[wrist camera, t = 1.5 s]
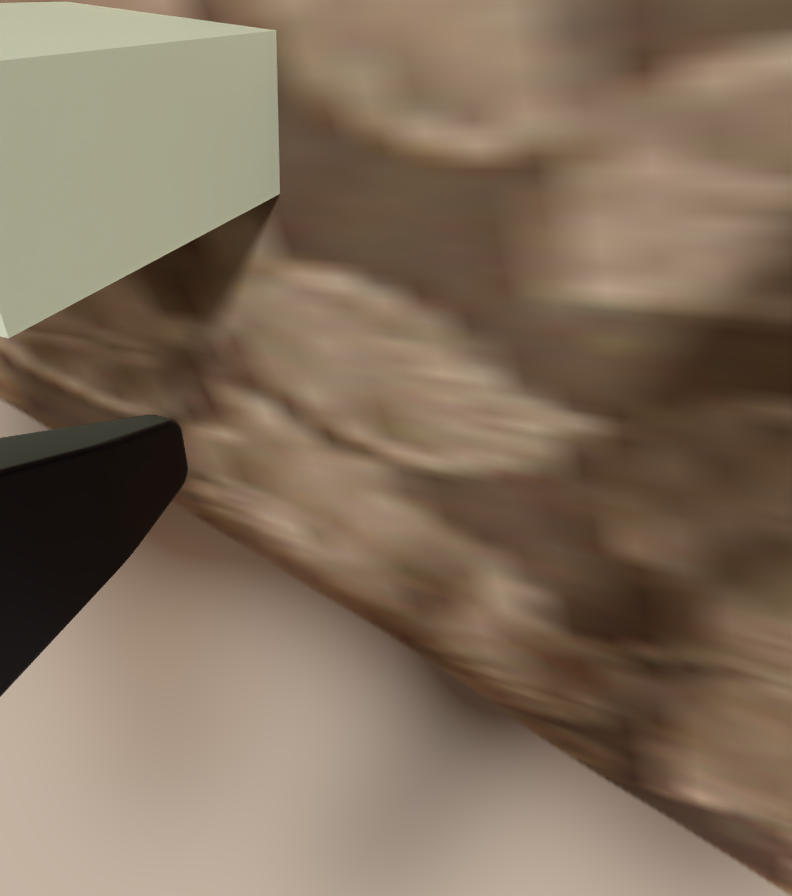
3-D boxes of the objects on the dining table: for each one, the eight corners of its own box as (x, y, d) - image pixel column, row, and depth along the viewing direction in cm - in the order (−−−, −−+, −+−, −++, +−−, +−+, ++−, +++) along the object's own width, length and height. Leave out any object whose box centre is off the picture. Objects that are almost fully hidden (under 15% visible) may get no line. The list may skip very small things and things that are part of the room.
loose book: (65, 1, 19) (-409, 12, 11) (276, 30, 18) (-81, 68, 9) (94, 157, 22) (-269, 265, 14) (280, 193, 21) (4, 341, 12)
